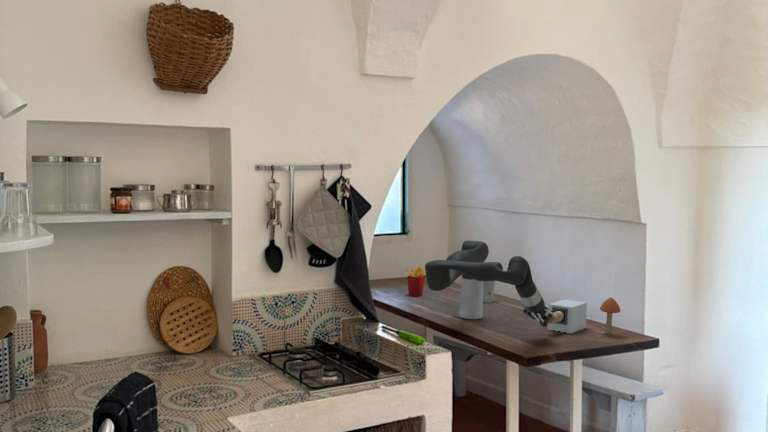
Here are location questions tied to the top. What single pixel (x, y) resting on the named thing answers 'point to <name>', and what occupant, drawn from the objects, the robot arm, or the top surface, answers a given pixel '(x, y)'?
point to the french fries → (416, 282)
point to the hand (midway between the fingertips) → (545, 324)
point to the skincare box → (488, 291)
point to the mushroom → (609, 313)
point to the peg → (557, 317)
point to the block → (569, 316)
